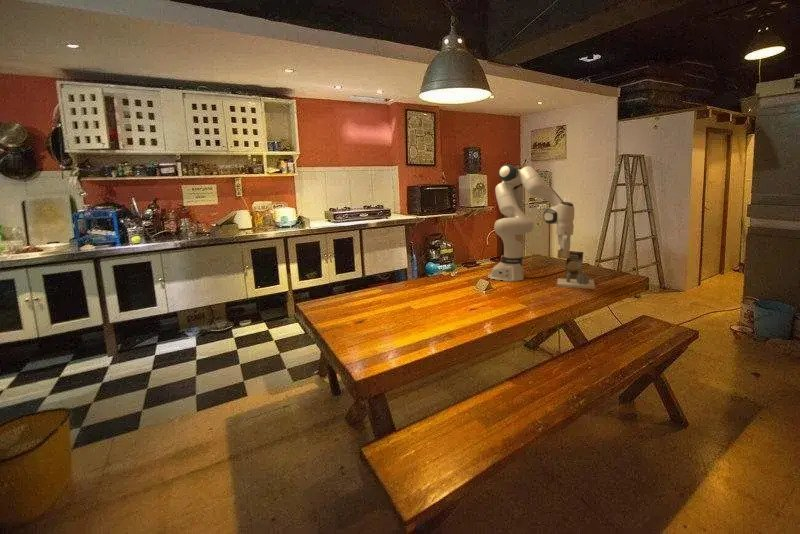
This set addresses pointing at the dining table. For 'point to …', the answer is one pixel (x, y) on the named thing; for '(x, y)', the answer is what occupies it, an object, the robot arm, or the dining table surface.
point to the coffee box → (574, 264)
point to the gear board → (576, 282)
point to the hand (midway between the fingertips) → (563, 255)
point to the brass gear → (560, 254)
